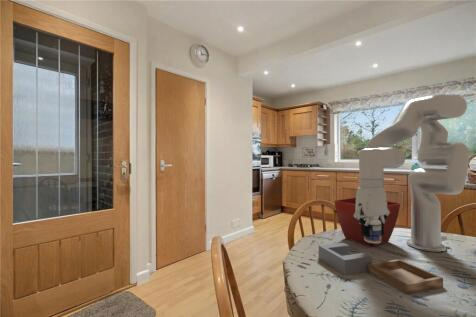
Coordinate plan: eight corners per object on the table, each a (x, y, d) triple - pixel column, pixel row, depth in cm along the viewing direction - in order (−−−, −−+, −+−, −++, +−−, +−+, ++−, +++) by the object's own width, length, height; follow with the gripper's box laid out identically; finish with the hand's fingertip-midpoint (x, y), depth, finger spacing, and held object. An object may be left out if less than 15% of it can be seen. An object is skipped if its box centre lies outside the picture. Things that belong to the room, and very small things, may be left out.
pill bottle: (360, 238, 87) (360, 212, 87) (374, 238, 88) (374, 211, 88) (370, 244, 82) (369, 215, 82) (385, 243, 82) (384, 215, 82)
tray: (399, 266, 79) (399, 259, 79) (443, 286, 67) (443, 277, 67) (367, 272, 75) (367, 264, 75) (407, 294, 63) (407, 284, 63)
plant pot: (375, 251, 92) (375, 207, 92) (333, 237, 108) (333, 200, 108) (401, 242, 102) (401, 203, 102) (358, 231, 118) (358, 196, 118)
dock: (342, 254, 89) (343, 242, 89) (372, 270, 76) (372, 256, 76) (318, 258, 86) (318, 245, 86) (344, 274, 73) (344, 260, 73)
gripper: (381, 181, 91) (382, 229, 91) (343, 183, 86) (344, 234, 86) (399, 183, 84) (400, 235, 84) (360, 186, 79) (361, 241, 79)
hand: (372, 234), depth 85 cm, fingers closed on pill bottle, 5 cm apart
